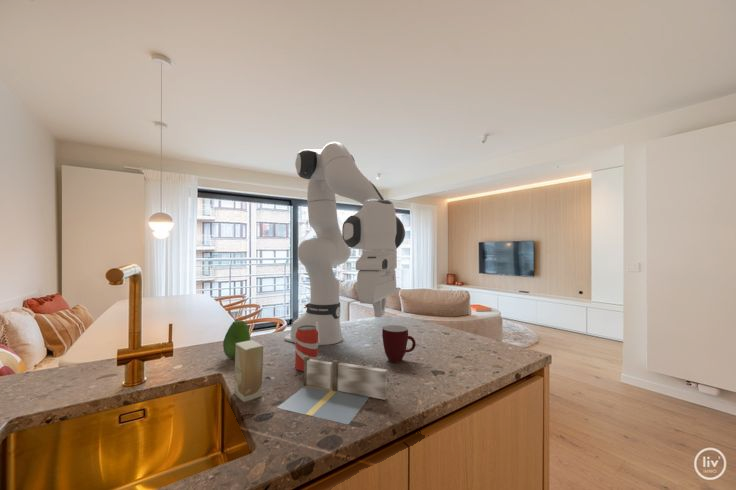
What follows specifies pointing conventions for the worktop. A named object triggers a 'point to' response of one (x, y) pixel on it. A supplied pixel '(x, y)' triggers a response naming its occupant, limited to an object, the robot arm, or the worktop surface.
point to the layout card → (325, 404)
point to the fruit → (235, 337)
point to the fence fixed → (321, 373)
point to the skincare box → (248, 370)
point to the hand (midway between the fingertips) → (379, 316)
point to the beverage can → (306, 345)
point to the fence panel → (362, 380)
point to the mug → (396, 342)
